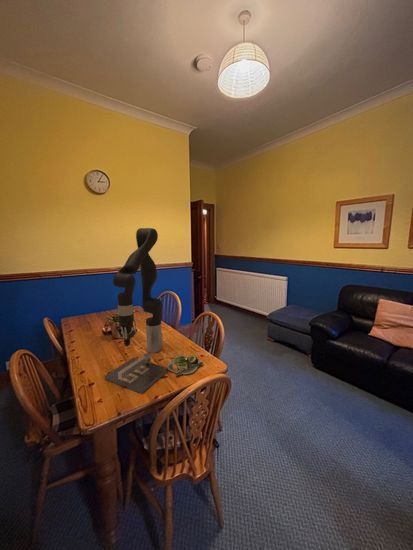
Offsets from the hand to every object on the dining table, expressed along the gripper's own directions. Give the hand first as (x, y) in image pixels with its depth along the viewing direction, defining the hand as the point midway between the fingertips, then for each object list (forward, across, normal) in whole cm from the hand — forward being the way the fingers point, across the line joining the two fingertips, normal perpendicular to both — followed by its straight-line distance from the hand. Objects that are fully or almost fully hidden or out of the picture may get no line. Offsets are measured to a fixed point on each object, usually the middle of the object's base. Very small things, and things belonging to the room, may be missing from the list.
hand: (127, 345), depth 118 cm
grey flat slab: (+15, -6, 0) cm, 16 cm away
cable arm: (+11, -6, 0) cm, 12 cm away
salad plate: (+16, -23, -19) cm, 34 cm away
